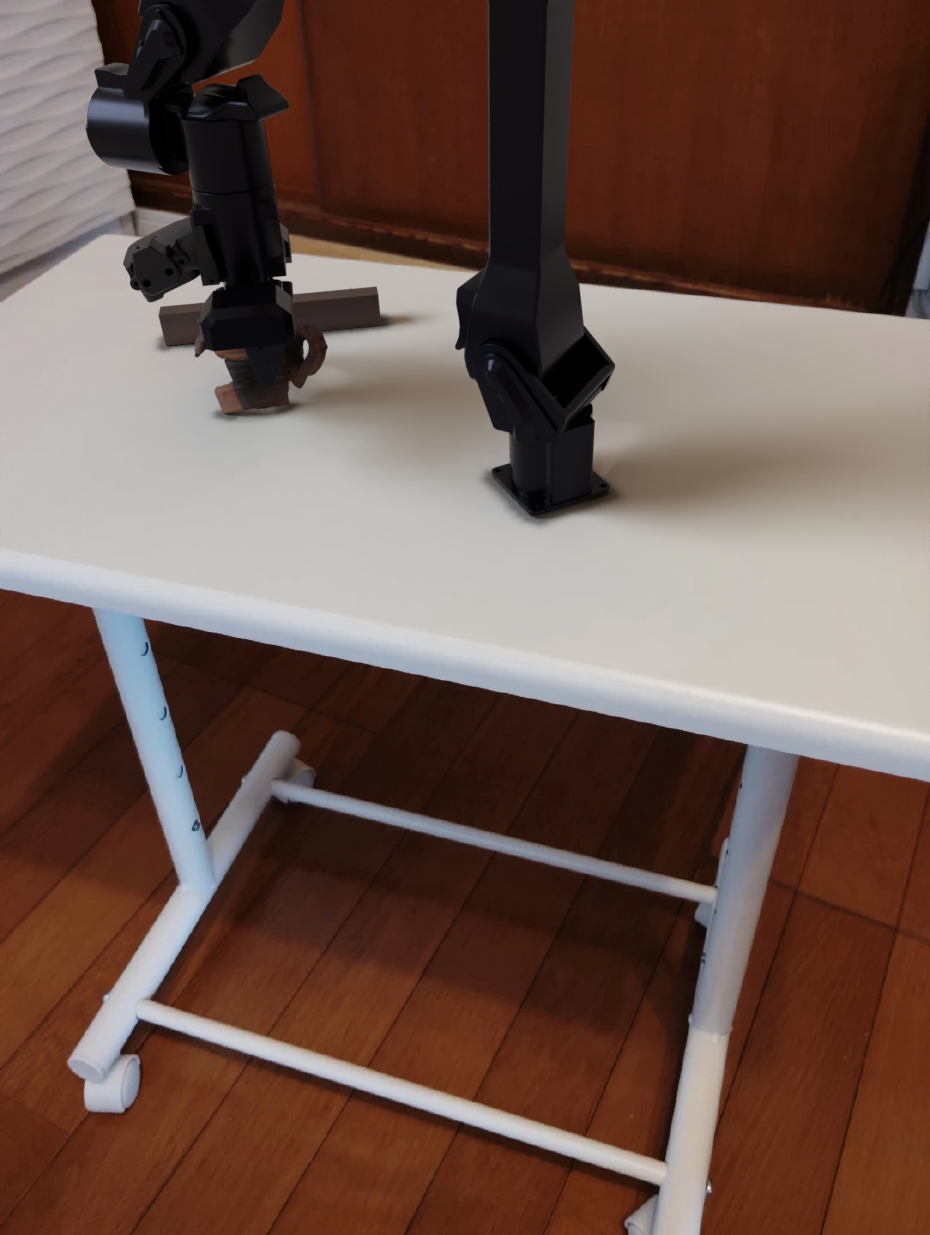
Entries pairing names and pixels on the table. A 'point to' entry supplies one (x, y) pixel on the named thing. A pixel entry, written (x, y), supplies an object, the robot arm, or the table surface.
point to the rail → (308, 308)
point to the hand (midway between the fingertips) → (268, 385)
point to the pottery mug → (292, 368)
